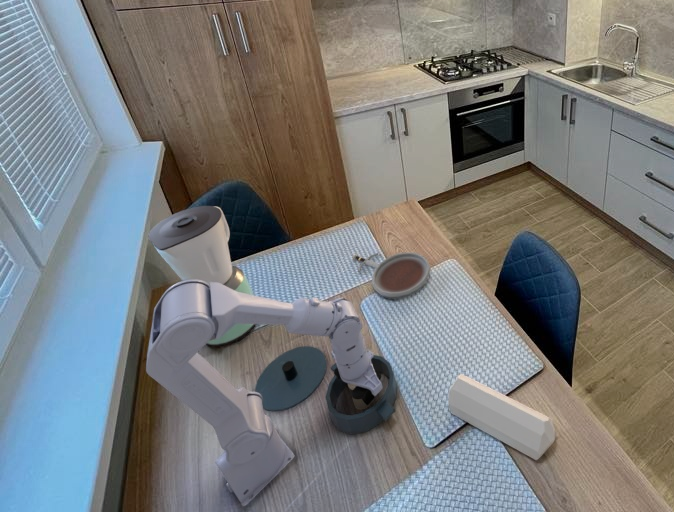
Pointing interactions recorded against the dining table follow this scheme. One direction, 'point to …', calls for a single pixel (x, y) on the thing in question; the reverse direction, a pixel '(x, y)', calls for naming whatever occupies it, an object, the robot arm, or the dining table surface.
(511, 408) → the beveled cream prism
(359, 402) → the cylinder
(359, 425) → the pot
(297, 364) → the lid
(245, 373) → the dining table surface
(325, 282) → the dining table surface
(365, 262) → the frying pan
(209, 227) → the blender
